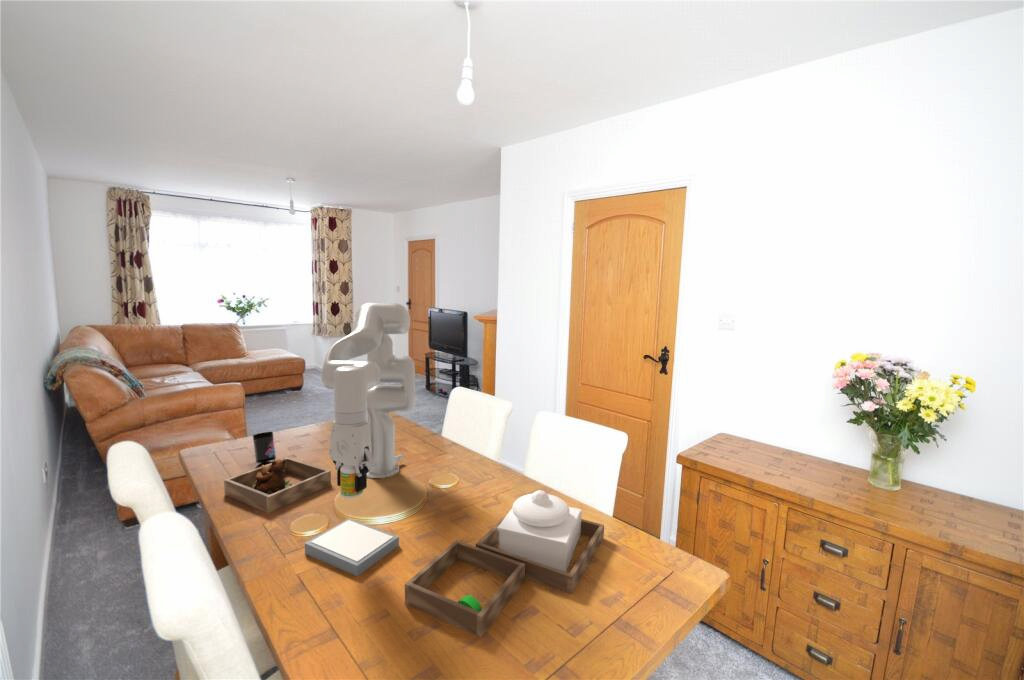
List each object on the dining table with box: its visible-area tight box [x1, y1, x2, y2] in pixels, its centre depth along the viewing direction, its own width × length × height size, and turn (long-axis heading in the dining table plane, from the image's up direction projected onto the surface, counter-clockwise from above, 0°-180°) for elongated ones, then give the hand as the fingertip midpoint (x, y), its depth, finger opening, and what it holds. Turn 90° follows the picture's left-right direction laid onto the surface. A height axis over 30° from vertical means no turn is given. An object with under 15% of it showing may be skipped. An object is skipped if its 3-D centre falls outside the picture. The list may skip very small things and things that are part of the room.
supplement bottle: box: [340, 464, 364, 499], centre depth 111 cm, size 5×5×10 cm
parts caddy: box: [404, 539, 526, 638], centre depth 99 cm, size 19×19×5 cm
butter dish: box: [497, 489, 583, 572], centre depth 116 cm, size 18×18×16 cm
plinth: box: [304, 517, 400, 577], centre depth 113 cm, size 14×18×3 cm
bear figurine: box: [250, 458, 294, 495], centre depth 143 cm, size 14×15×12 cm
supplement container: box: [252, 431, 277, 465], centre depth 165 cm, size 7×7×10 cm
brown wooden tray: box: [223, 456, 332, 514], centre depth 145 cm, size 22×22×5 cm
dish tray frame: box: [475, 516, 605, 595], centre depth 115 cm, size 25×25×5 cm
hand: (352, 486), depth 112 cm, fingers closed on supplement bottle, 5 cm apart
